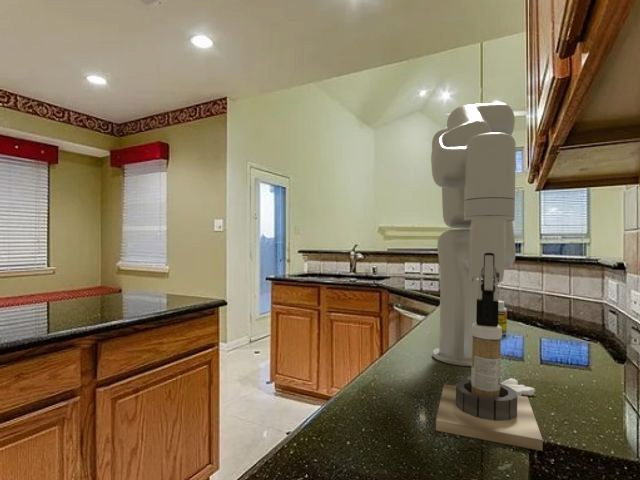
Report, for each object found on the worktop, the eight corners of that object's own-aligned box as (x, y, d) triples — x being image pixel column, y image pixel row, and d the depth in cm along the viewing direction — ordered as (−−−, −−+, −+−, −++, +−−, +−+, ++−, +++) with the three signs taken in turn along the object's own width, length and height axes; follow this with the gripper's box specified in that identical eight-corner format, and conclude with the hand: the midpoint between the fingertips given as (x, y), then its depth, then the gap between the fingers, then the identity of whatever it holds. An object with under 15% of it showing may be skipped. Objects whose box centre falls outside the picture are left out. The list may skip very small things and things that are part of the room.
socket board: (443, 392, 73) (444, 368, 73) (527, 405, 67) (527, 379, 67) (435, 430, 58) (436, 400, 58) (542, 451, 52) (543, 417, 53)
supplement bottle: (496, 336, 118) (497, 302, 118) (483, 331, 124) (483, 300, 124) (510, 334, 120) (511, 302, 120) (497, 330, 125) (497, 299, 126)
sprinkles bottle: (476, 399, 66) (478, 320, 66) (504, 407, 63) (506, 324, 63) (465, 407, 63) (467, 324, 63) (494, 416, 59) (496, 328, 60)
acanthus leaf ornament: (513, 385, 79) (513, 375, 79) (540, 398, 72) (540, 388, 72) (481, 387, 77) (481, 377, 77) (506, 401, 70) (506, 391, 70)
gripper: (465, 215, 71) (463, 315, 71) (462, 208, 57) (460, 332, 57) (510, 215, 68) (508, 319, 68) (519, 207, 54) (517, 337, 54)
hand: (486, 324), depth 62 cm, fingers closed
